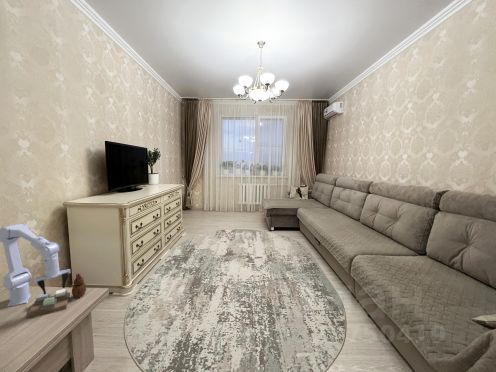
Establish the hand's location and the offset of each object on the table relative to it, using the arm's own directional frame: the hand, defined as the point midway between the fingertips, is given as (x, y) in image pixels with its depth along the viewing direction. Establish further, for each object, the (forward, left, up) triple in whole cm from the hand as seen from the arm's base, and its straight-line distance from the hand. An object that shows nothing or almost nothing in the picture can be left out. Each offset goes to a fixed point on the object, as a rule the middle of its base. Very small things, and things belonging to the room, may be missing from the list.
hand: (54, 290), depth 119 cm
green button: (0, -2, -7) cm, 7 cm away
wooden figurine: (-7, +10, -10) cm, 16 cm away
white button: (-7, +1, -7) cm, 10 cm away
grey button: (-7, -6, -7) cm, 11 cm away
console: (-3, -2, -10) cm, 11 cm away
